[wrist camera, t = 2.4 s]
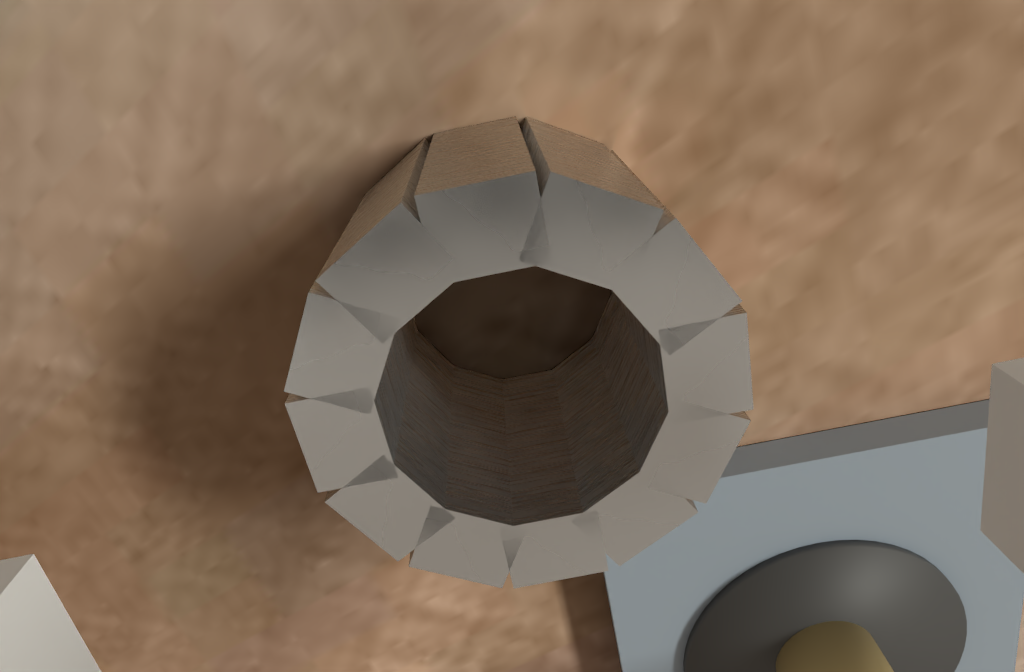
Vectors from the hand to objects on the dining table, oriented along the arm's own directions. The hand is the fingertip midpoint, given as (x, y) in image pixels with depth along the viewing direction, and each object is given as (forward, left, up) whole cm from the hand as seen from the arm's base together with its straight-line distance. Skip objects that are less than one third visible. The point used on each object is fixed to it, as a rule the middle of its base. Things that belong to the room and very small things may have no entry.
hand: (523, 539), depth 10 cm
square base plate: (+13, +7, -9) cm, 17 cm away
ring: (0, 0, -9) cm, 9 cm away
